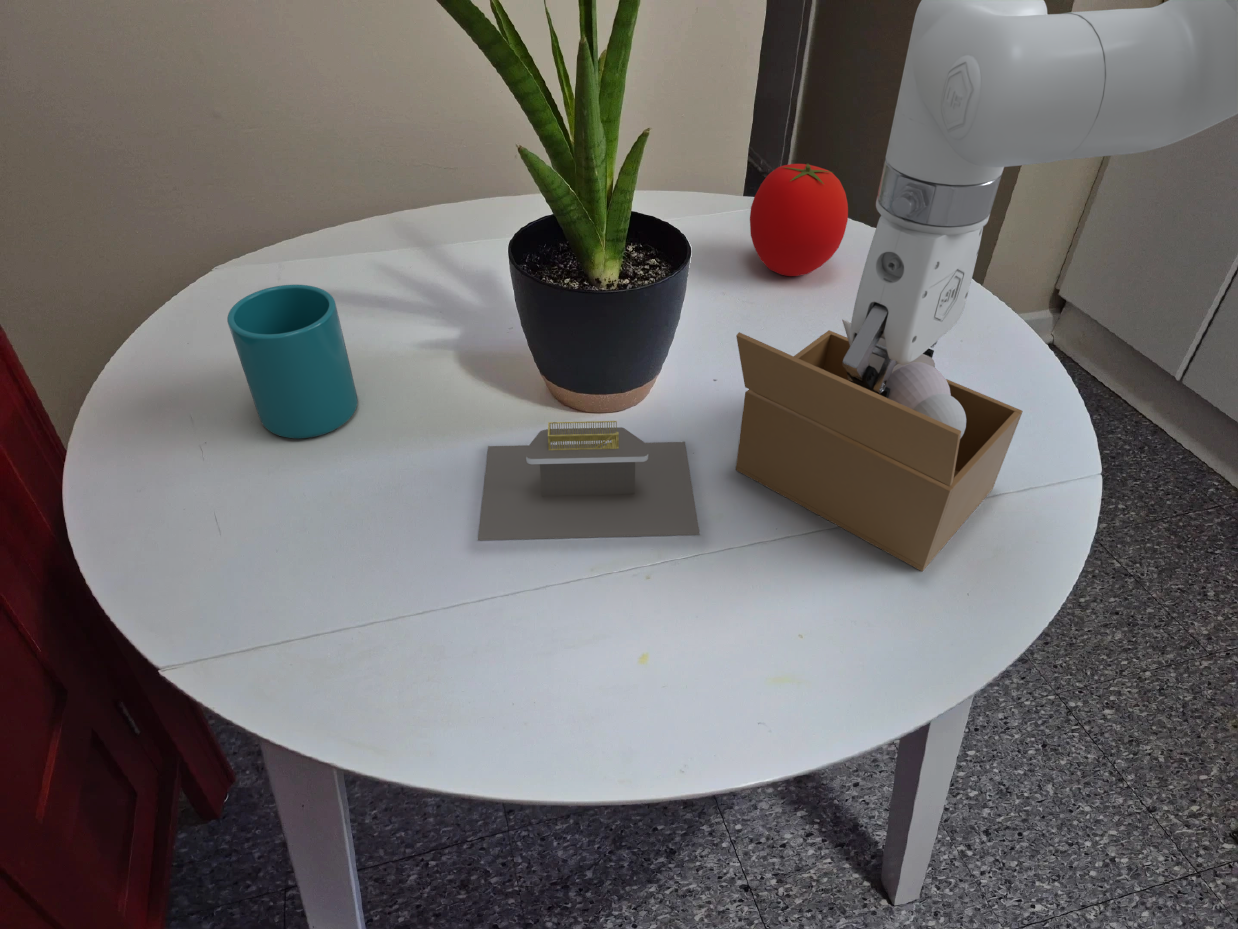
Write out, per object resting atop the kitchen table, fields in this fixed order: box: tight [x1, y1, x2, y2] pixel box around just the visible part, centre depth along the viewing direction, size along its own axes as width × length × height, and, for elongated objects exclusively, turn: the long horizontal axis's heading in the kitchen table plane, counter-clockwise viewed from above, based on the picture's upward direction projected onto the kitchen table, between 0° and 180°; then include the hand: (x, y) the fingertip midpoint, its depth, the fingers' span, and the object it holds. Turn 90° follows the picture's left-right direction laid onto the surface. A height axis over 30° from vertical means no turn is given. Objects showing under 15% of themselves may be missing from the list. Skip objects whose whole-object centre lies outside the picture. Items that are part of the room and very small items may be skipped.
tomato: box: [749, 163, 849, 277], centre depth 101 cm, size 11×11×13 cm
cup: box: [227, 284, 359, 439], centre depth 80 cm, size 9×12×11 cm
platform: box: [477, 420, 701, 541], centre depth 73 cm, size 12×18×7 cm, turn 92°
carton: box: [735, 329, 1023, 572], centre depth 73 cm, size 18×13×8 cm
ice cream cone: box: [841, 318, 966, 439], centre depth 69 cm, size 6×6×15 cm
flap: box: [735, 331, 961, 486], centre depth 64 cm, size 18×6×1 cm
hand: (882, 402), depth 70 cm, fingers closed on ice cream cone, 6 cm apart
